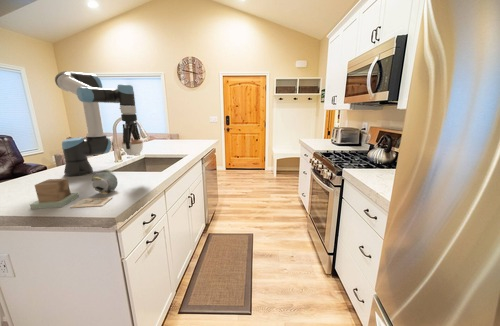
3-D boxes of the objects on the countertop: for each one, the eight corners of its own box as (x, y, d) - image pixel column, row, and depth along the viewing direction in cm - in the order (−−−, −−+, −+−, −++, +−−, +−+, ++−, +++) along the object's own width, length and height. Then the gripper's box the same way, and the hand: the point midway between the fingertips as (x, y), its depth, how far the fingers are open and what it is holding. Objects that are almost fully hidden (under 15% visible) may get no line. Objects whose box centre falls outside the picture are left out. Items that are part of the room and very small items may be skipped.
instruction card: (83, 199, 103) (82, 198, 102) (112, 198, 104) (112, 197, 104) (70, 208, 94) (70, 206, 94) (102, 206, 96) (102, 205, 95)
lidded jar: (131, 151, 132) (129, 136, 130) (147, 152, 131) (146, 137, 128) (119, 155, 122) (116, 139, 120) (136, 156, 120) (134, 139, 118)
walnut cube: (52, 195, 103) (48, 179, 101) (70, 194, 104) (67, 178, 102) (38, 202, 95) (34, 185, 93) (59, 201, 96) (55, 184, 94)
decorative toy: (97, 182, 118) (73, 189, 98) (107, 167, 118) (85, 170, 98) (116, 193, 120) (97, 202, 100) (126, 178, 120) (109, 183, 100)
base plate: (51, 197, 105) (50, 194, 104) (78, 196, 106) (77, 192, 106) (30, 208, 93) (29, 204, 93) (61, 207, 95) (60, 202, 94)
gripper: (129, 113, 131) (134, 148, 137) (111, 114, 109) (117, 156, 114) (142, 113, 132) (146, 148, 138) (127, 114, 110) (132, 156, 115)
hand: (133, 152), depth 126 cm, fingers closed on lidded jar, 11 cm apart
